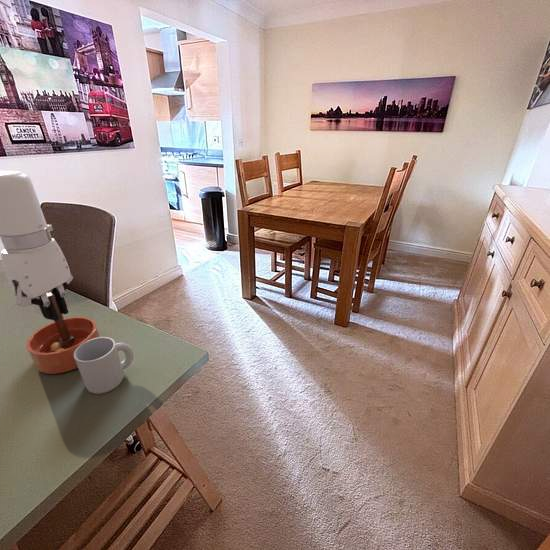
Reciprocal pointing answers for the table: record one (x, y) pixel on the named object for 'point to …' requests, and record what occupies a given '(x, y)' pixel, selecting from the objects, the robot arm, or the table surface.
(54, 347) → the bead
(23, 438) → the table surface
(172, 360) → the table surface
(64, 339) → the stick
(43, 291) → the robot arm
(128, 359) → the cup
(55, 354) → the bowl
